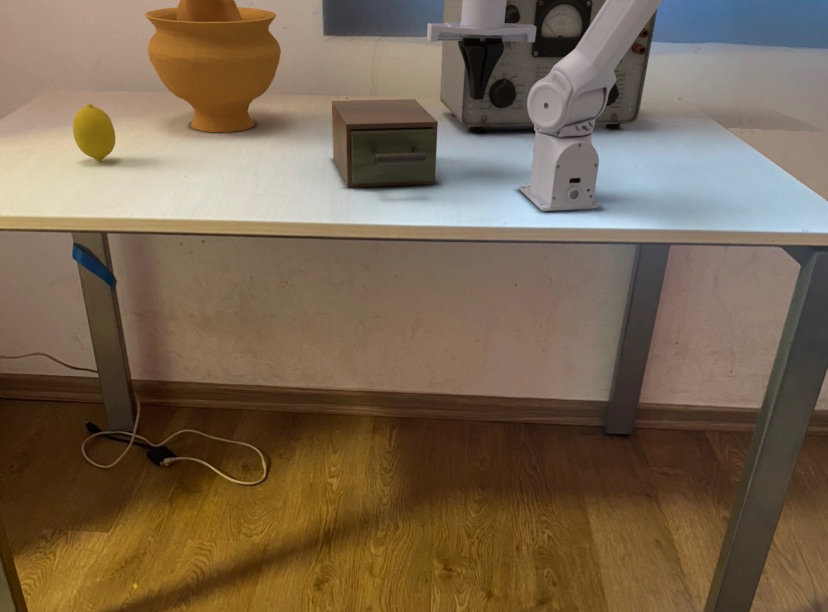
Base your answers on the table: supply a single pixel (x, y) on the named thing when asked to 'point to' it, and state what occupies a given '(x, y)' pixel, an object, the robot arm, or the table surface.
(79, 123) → the lemon
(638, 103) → the vintage electronic device
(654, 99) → the table surface
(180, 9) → the mortar and pestle
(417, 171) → the drawer
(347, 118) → the cabinet
